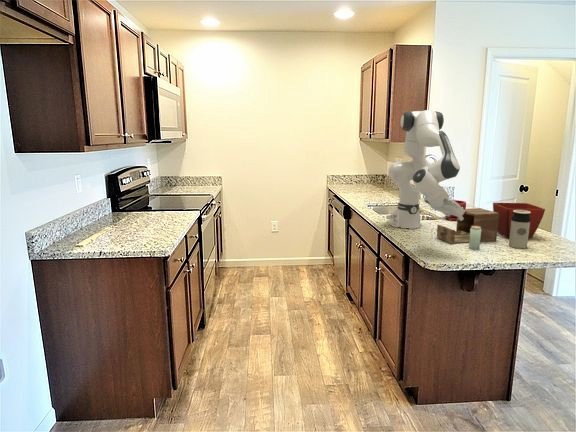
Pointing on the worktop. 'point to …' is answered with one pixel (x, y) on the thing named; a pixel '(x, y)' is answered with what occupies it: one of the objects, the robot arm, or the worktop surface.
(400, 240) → the worktop surface
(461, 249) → the worktop surface
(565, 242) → the worktop surface
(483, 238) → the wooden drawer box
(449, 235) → the wooden drawer
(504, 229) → the plant pot
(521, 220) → the travel mug
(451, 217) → the plant pot
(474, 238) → the spice jar
